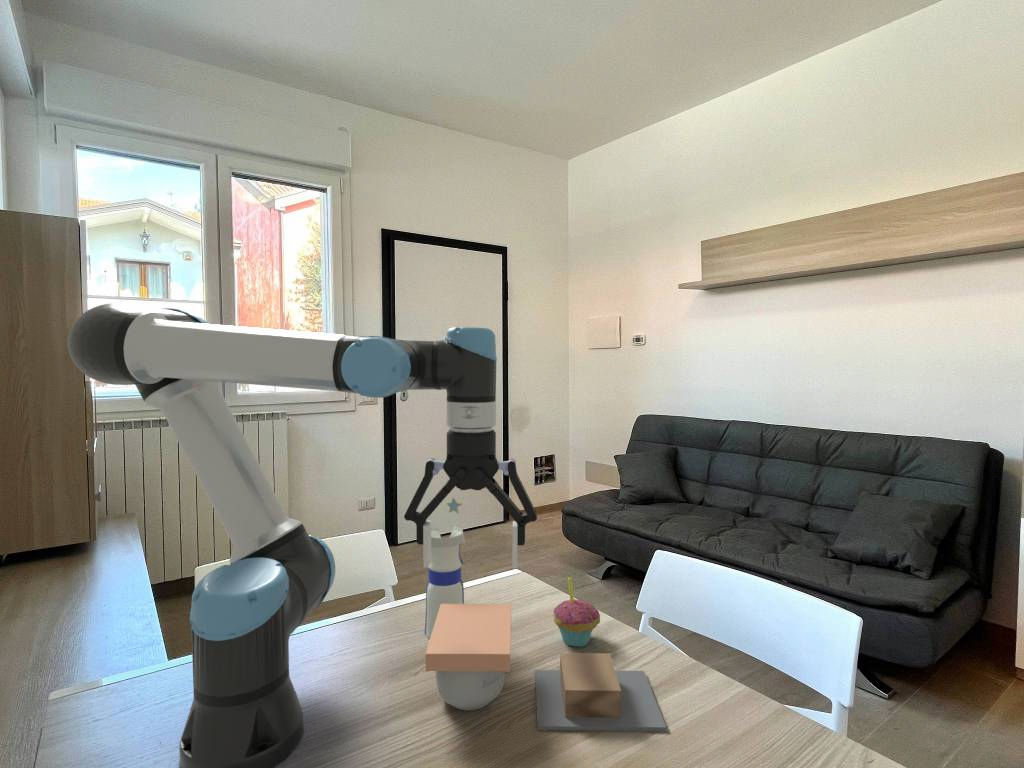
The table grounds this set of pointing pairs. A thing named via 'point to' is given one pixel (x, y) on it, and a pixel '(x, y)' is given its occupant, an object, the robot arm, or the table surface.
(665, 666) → the table surface
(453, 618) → the lid
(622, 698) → the mat
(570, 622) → the cupcake
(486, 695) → the teacup
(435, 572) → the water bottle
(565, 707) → the brown wooden block
